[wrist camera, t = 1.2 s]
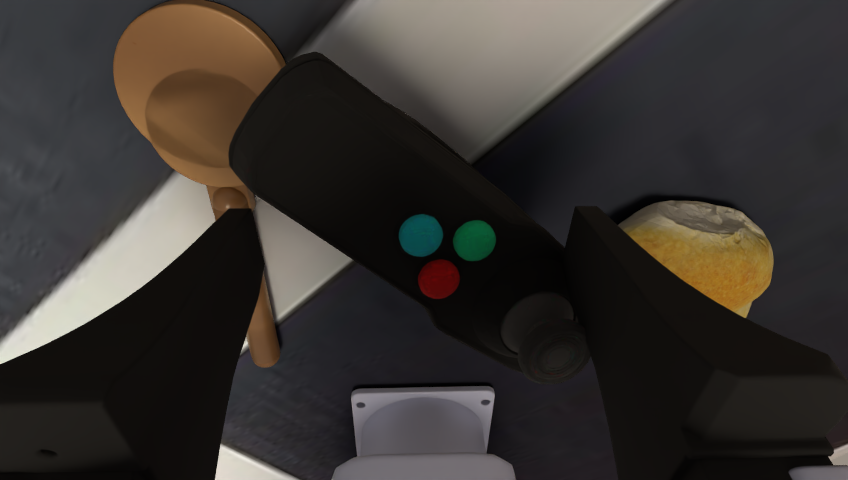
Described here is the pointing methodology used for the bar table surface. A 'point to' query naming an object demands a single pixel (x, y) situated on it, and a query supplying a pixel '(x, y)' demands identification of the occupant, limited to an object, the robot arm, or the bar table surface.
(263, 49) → the spoon
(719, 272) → the bread roll
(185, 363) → the robot arm
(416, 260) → the controller
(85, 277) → the bar table surface
